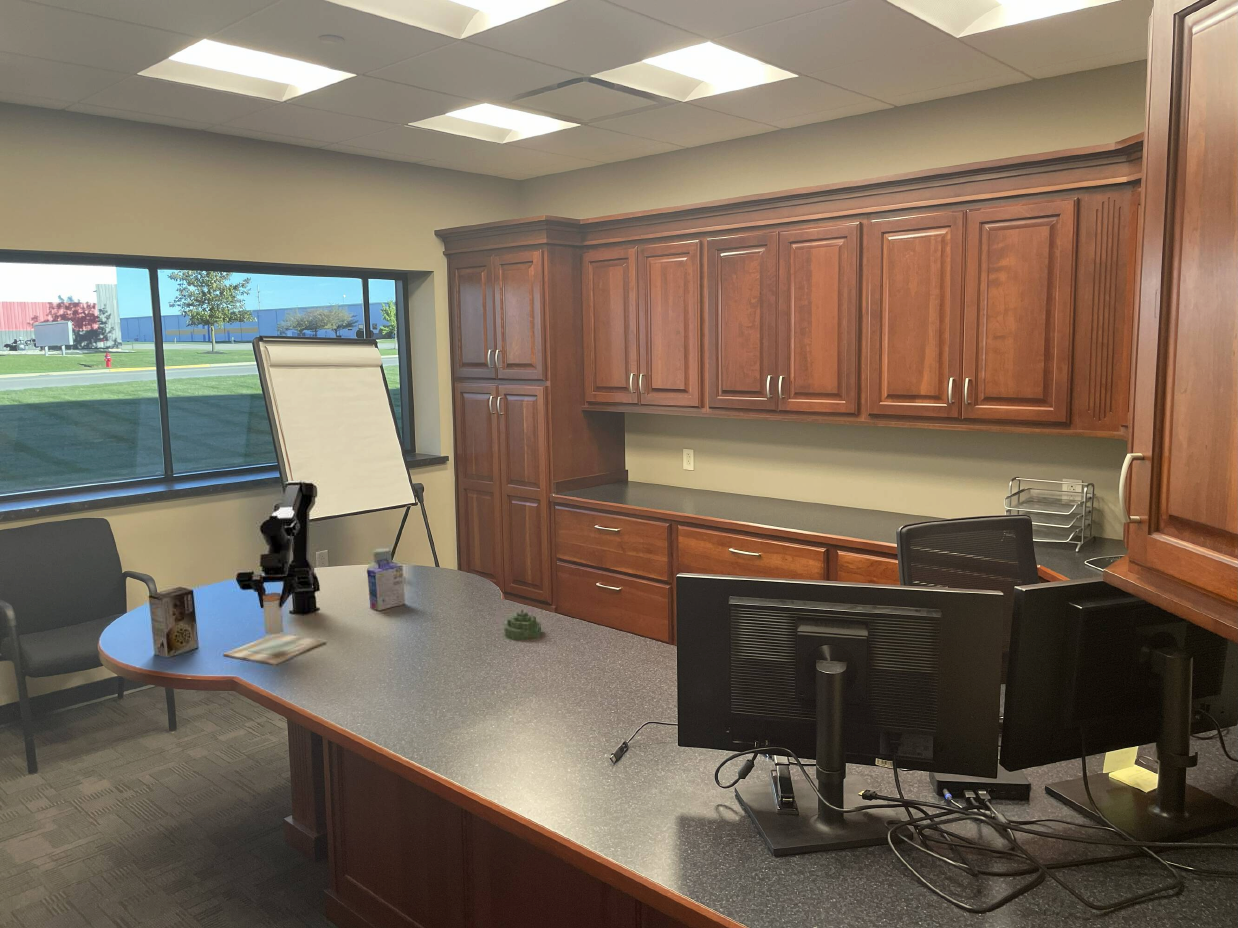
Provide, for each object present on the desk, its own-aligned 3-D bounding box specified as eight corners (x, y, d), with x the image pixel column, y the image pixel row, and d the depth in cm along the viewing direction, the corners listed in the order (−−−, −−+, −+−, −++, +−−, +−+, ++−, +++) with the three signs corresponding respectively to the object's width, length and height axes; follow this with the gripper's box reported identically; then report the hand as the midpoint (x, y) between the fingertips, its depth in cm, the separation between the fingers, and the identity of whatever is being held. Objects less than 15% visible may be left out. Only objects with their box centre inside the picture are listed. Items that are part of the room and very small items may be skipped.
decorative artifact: (513, 627, 253) (498, 638, 244) (512, 603, 252) (497, 613, 243) (546, 630, 250) (532, 641, 241) (545, 605, 249) (531, 616, 240)
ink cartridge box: (396, 600, 281) (394, 555, 279) (406, 604, 277) (404, 558, 275) (368, 607, 274) (365, 561, 272) (378, 611, 270) (375, 564, 268)
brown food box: (184, 643, 244) (179, 586, 242) (199, 647, 241) (194, 589, 238) (152, 654, 236) (147, 594, 234) (167, 658, 233) (162, 597, 231)
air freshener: (392, 573, 315) (391, 545, 314) (403, 577, 309) (402, 549, 308) (363, 578, 308) (361, 550, 307) (374, 583, 302) (372, 554, 301)
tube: (263, 630, 238) (261, 594, 237) (281, 627, 241) (278, 591, 239) (267, 635, 235) (264, 598, 233) (284, 632, 237) (282, 595, 235)
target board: (223, 655, 234) (223, 653, 234) (276, 634, 250) (276, 632, 250) (274, 664, 226) (274, 662, 226) (325, 642, 242) (325, 640, 242)
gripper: (235, 541, 237) (225, 594, 228) (308, 538, 239) (301, 590, 230) (245, 563, 246) (237, 614, 237) (316, 560, 248) (310, 610, 239)
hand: (271, 607), depth 235 cm, fingers closed on tube, 4 cm apart
